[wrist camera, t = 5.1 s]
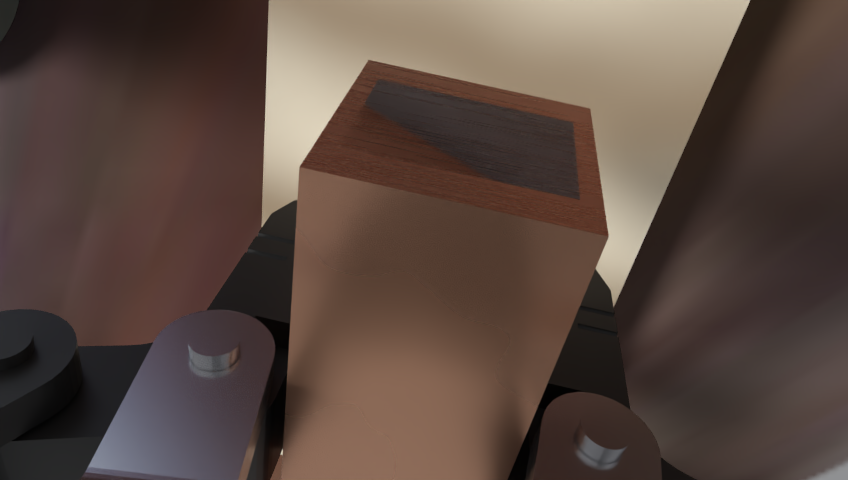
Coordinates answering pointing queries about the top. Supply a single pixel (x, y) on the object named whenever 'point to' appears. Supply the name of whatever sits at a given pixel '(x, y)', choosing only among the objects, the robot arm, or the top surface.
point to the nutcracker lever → (434, 276)
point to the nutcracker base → (513, 80)
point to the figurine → (7, 15)
